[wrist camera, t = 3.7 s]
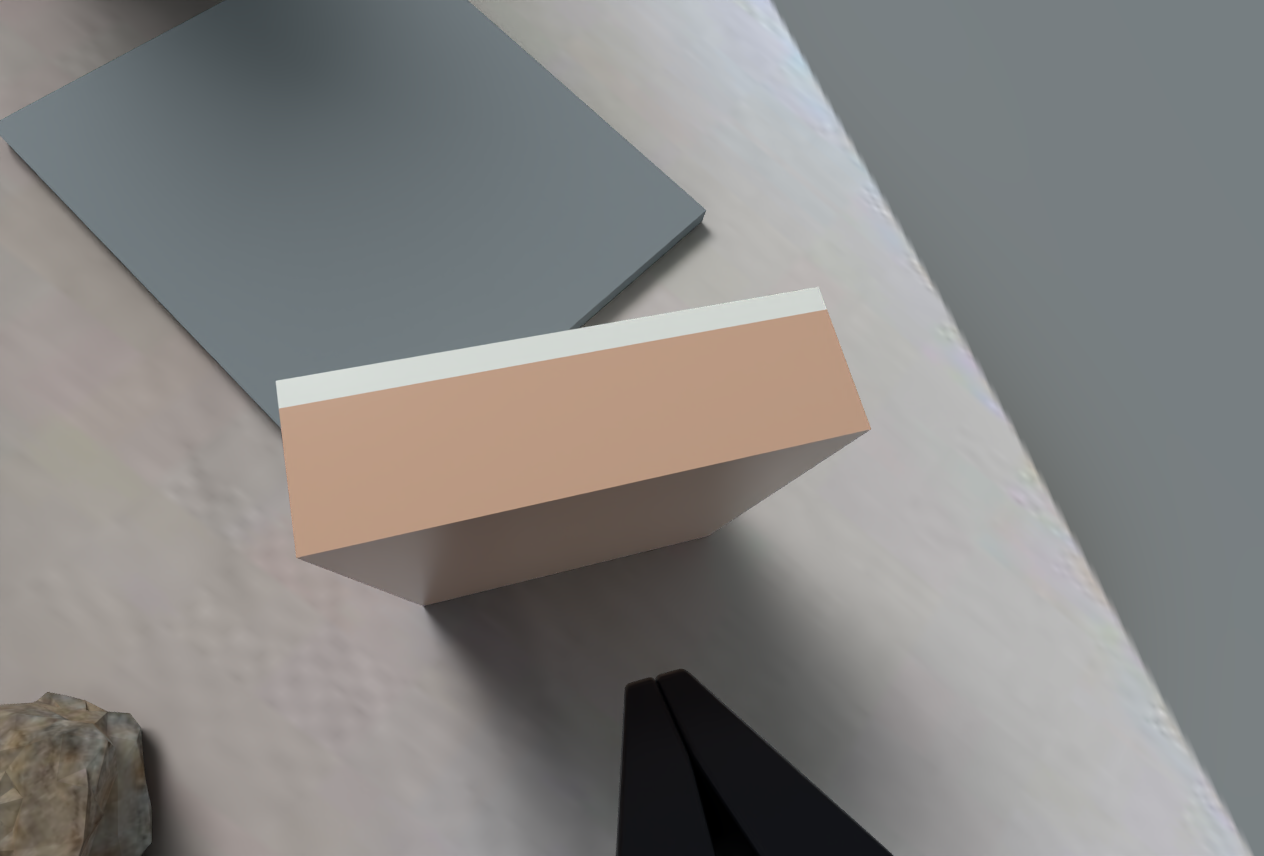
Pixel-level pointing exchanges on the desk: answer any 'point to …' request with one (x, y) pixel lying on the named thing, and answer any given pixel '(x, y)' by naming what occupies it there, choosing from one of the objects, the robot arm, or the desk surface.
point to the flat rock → (71, 780)
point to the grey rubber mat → (351, 184)
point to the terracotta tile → (561, 444)
